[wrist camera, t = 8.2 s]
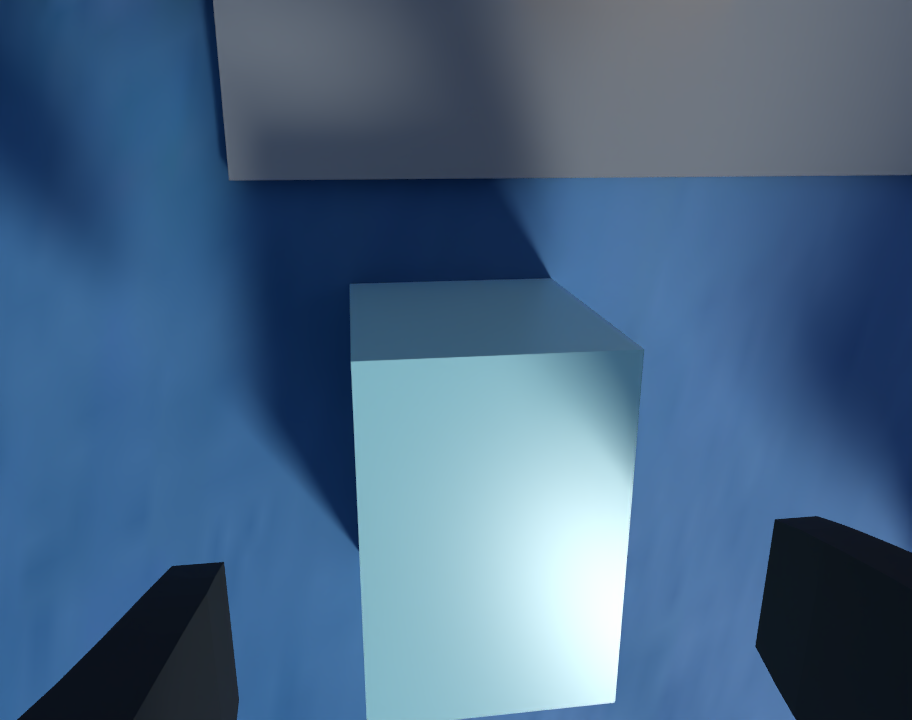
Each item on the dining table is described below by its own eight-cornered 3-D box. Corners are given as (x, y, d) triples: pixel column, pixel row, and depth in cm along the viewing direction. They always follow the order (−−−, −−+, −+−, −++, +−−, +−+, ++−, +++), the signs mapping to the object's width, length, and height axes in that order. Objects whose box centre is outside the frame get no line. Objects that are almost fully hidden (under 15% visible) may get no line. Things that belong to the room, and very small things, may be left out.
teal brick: (549, 277, 15) (644, 349, 10) (539, 538, 17) (614, 702, 12) (349, 283, 14) (350, 361, 10) (361, 552, 16) (367, 729, 11)
